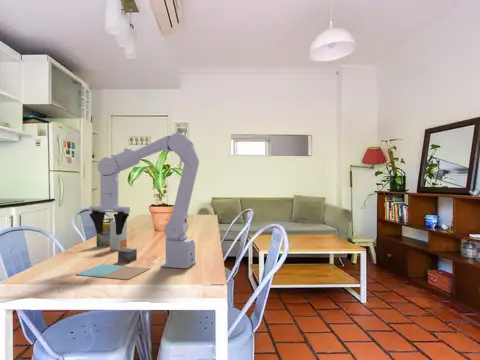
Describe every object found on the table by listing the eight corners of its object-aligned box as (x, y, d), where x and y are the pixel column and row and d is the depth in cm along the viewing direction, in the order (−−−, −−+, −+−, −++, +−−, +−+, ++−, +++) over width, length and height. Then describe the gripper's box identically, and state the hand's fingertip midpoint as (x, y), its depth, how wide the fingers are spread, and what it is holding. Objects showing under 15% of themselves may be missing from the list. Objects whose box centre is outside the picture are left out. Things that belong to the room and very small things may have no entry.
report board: (149, 269, 106) (149, 268, 106) (127, 280, 95) (127, 279, 95) (102, 264, 111) (102, 264, 111) (75, 274, 100) (75, 274, 100)
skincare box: (119, 250, 133) (119, 221, 132) (109, 250, 133) (109, 220, 133) (127, 247, 138) (127, 219, 138) (118, 247, 139) (118, 218, 139)
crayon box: (98, 247, 139) (98, 219, 139) (96, 246, 141) (96, 219, 141) (116, 245, 143) (116, 218, 143) (113, 244, 146) (113, 217, 146)
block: (136, 260, 118) (136, 249, 118) (129, 263, 114) (129, 251, 114) (125, 259, 119) (125, 248, 119) (117, 262, 115) (118, 251, 115)
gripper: (135, 193, 113) (134, 233, 113) (99, 192, 117) (99, 230, 117) (122, 194, 107) (122, 236, 107) (84, 193, 110) (84, 234, 110)
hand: (109, 233), depth 112 cm, fingers open, 7 cm apart
